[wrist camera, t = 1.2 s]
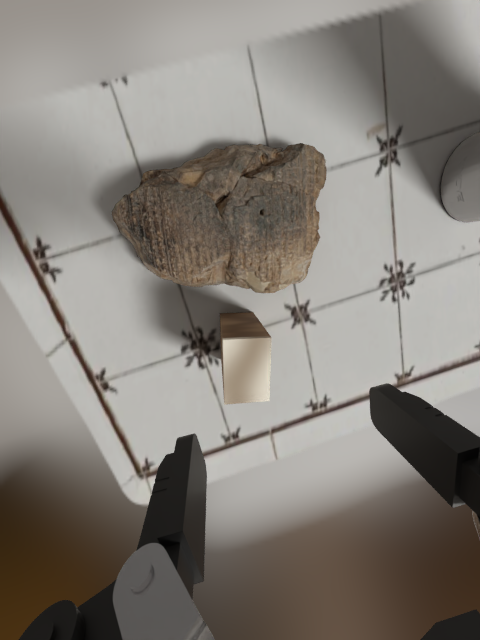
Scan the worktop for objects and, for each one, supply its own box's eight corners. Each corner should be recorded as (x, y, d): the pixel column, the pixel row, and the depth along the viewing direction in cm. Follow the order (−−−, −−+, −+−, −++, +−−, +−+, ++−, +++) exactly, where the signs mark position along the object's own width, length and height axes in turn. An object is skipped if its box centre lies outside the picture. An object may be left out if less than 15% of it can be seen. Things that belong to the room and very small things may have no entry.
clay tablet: (134, 291, 25) (306, 289, 27) (115, 298, 20) (325, 295, 22) (117, 147, 22) (315, 156, 23) (89, 114, 17) (340, 129, 19)
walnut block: (252, 312, 27) (271, 337, 18) (252, 357, 28) (269, 401, 20) (219, 313, 26) (222, 339, 18) (221, 359, 28) (224, 404, 19)
